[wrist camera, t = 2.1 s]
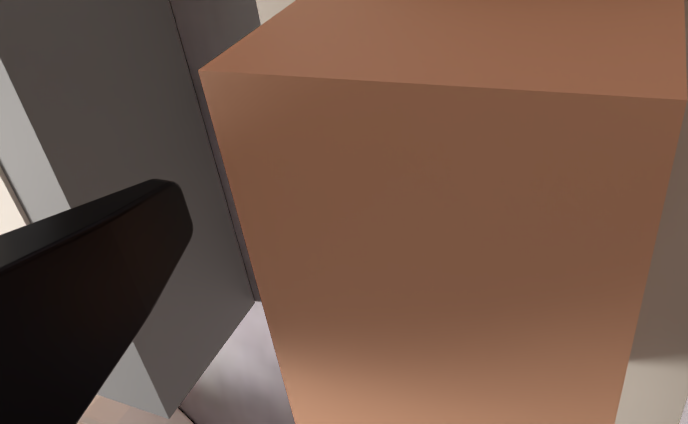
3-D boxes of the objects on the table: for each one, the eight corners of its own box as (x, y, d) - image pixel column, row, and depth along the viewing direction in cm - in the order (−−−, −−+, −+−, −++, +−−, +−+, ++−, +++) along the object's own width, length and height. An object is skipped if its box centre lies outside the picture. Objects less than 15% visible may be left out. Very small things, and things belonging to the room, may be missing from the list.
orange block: (682, -29, 6) (687, 99, 4) (607, 361, 10) (587, 543, 8) (330, -25, 8) (197, 70, 6) (373, 310, 11) (302, 448, 9)
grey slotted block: (822, -290, 8) (914, -303, 5) (669, 299, 13) (668, 456, 10) (348, -220, 10) (214, -200, 7) (393, 250, 16) (329, 366, 13)
